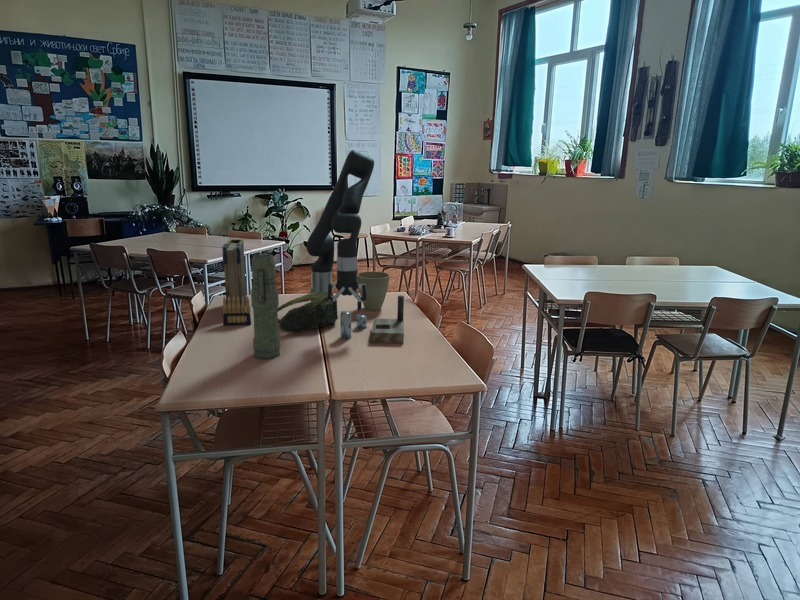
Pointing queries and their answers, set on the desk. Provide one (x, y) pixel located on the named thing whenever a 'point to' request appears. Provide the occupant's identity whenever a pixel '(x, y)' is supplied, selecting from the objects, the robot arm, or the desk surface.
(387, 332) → the hole board
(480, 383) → the desk surface
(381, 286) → the plant pot
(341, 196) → the robot arm
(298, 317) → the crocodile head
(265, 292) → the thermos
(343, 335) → the tall pin
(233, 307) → the ammunition clip
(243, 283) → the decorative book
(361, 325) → the short pin
